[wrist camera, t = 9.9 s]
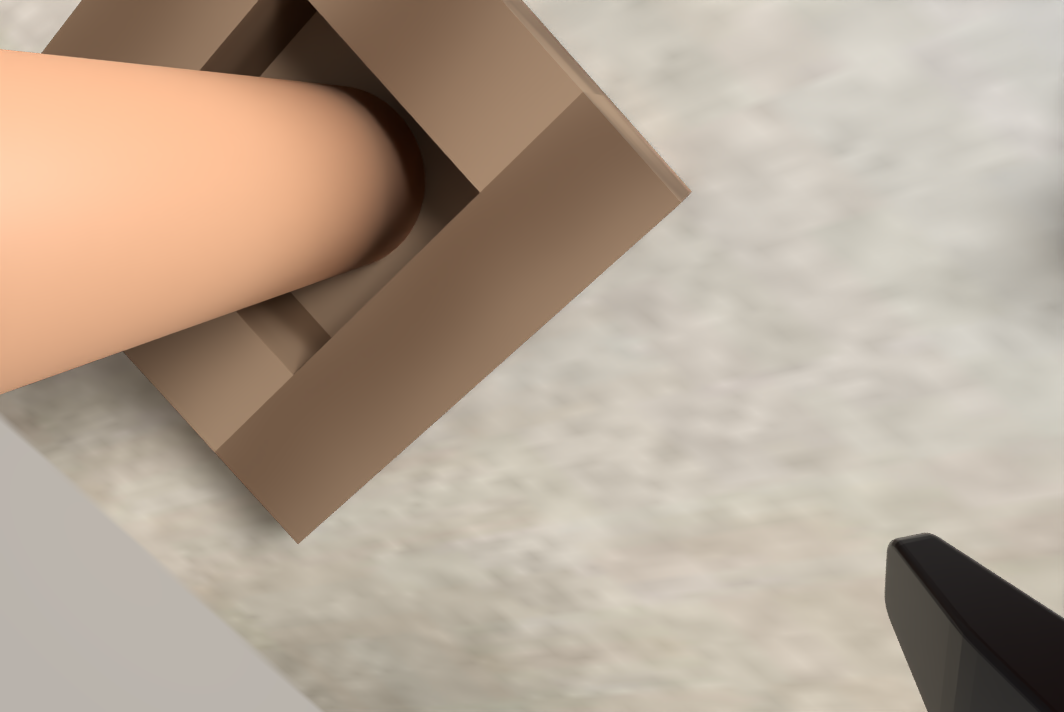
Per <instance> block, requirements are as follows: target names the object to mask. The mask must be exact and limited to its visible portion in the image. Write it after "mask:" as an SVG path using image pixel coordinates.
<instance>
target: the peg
mask: <svg viewBox="0 0 1064 712" xmlns="http://www.w3.org/2000/svg"><path fill="white" fill-rule="evenodd" d="M424 191H425V172H424V165H423V160H422V156H421V152H420V149H419V147H418V144H417V142H416V139H415V137H414V135H413V134H412V132H411V130H410V128H409V127H408V125H407V124H406V123H405V121H404V120H403V118H402V117H401V116H400V115H399V114H398V113H397V112H396V111H395V110H394V109H393V108H392V107H391V106H389V105H388V104H387V103H386V102H385V101H383V100H381V99H380V98H378V97H377V96H375V95H373V94H371V93H368V92H366V91H364V90H360V89H357V88H354V87H347V86H340V85H330V84H321V83H312V82H302V81H293V80H284V79H274V78H265V77H255V76H246V75H237V74H227V73H218V72H209V71H199V70H190V69H180V68H171V67H162V66H152V65H143V64H134V63H124V62H115V61H105V60H96V59H87V58H77V57H68V56H59V55H49V54H40V53H30V52H21V51H12V50H2V49H0V394H3V393H6V392H9V391H11V390H14V389H17V388H20V387H23V386H26V385H28V384H31V383H34V382H37V381H40V380H43V379H45V378H48V377H51V376H54V375H57V374H59V373H62V372H65V371H68V370H71V369H74V368H76V367H79V366H82V365H85V364H88V363H91V362H93V361H96V360H99V359H102V358H105V357H107V356H110V355H113V354H116V353H119V352H122V351H124V350H127V349H130V348H133V347H136V346H139V345H141V344H144V343H147V342H150V341H153V340H155V339H158V338H161V337H164V336H167V335H170V334H172V333H175V332H178V331H181V330H184V329H187V328H189V327H192V326H195V325H198V324H201V323H203V322H206V321H209V320H212V319H215V318H218V317H220V316H223V315H226V314H229V313H232V312H235V311H237V310H240V309H243V308H246V307H249V306H251V305H254V304H257V303H260V302H263V301H266V300H268V299H271V298H274V297H277V296H280V295H283V294H285V293H288V292H291V291H294V290H297V289H299V288H302V287H305V286H308V285H311V284H314V283H316V282H319V281H322V280H325V279H328V278H331V277H333V276H336V275H339V274H342V273H345V272H347V271H350V270H353V269H356V268H359V267H362V266H364V265H367V264H370V263H372V262H375V261H377V260H380V259H381V258H383V257H385V256H387V255H388V254H390V253H391V252H392V251H393V250H395V249H396V248H397V247H398V246H399V245H400V244H401V243H402V242H403V241H404V240H405V239H406V237H407V236H408V234H409V233H410V232H411V230H412V228H413V227H414V225H415V223H416V221H417V219H418V216H419V213H420V211H421V207H422V203H423V199H424Z"/></svg>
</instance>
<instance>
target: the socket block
mask: <svg viewBox="0 0 1064 712" xmlns="http://www.w3.org/2000/svg"><path fill="white" fill-rule="evenodd" d="M41 54H49V55H59V56H68V57H77V58H87V59H96V60H105V61H115V62H124V63H134V64H143V65H152V66H162V67H171V68H180V69H190V70H199V71H209V72H218V73H227V74H237V75H246V76H255V77H265V78H274V79H284V80H293V81H302V82H312V83H321V84H330V85H340V86H347V87H354V88H357V89H360V90H364V91H366V92H368V93H371V94H373V95H375V96H377V97H378V98H380V99H381V100H383V101H385V102H386V103H387V104H388V105H389V106H391V107H392V108H393V109H394V110H395V111H396V112H397V113H398V114H399V115H400V116H401V117H402V118H403V120H404V121H405V123H406V124H407V125H408V127H409V128H410V130H411V132H412V134H413V135H414V137H415V139H416V142H417V144H418V147H419V149H420V152H421V156H422V160H423V165H424V172H425V191H424V199H423V203H422V207H421V211H420V213H419V216H418V219H417V221H416V223H415V225H414V227H413V228H412V230H411V232H410V233H409V234H408V236H407V237H406V239H405V240H404V241H403V242H402V243H401V244H400V245H399V246H398V247H397V248H396V249H395V250H393V251H392V252H391V253H390V254H388V255H387V256H385V257H383V258H381V259H380V260H377V261H375V262H372V263H370V264H367V265H364V266H362V267H359V268H356V269H353V270H350V271H347V272H345V273H342V274H339V275H336V276H333V277H331V278H328V279H325V280H322V281H319V282H316V283H314V284H311V285H308V286H305V287H302V288H299V289H297V290H294V291H291V292H288V293H285V294H283V295H280V296H277V297H274V298H271V299H268V300H266V301H263V302H260V303H257V304H254V305H251V306H249V307H246V308H243V309H240V310H237V311H235V312H232V313H229V314H226V315H223V316H220V317H218V318H215V319H212V320H209V321H206V322H203V323H201V324H198V325H195V326H192V327H189V328H187V329H184V330H181V331H178V332H175V333H172V334H170V335H167V336H164V337H161V338H158V339H155V340H153V341H150V342H147V343H144V344H141V345H139V346H136V347H133V348H130V349H127V350H124V351H123V352H124V353H125V354H126V355H127V357H128V358H129V359H130V360H131V361H132V362H133V363H134V364H135V365H136V366H137V368H138V369H139V370H140V371H141V372H142V373H143V374H144V375H145V376H146V377H147V379H148V380H149V381H150V382H151V383H152V384H153V385H154V386H155V387H156V388H157V390H158V391H159V392H160V393H161V394H162V395H163V396H164V397H165V398H166V399H167V401H168V402H169V403H170V404H171V405H172V406H173V407H174V408H175V409H176V410H177V412H178V413H179V414H180V415H181V416H182V417H183V418H184V419H185V420H186V422H187V423H188V424H189V425H190V426H191V427H192V428H193V429H194V430H195V431H196V433H197V434H198V435H199V436H200V437H201V438H202V439H203V440H204V441H205V442H206V444H207V445H208V446H209V447H210V448H211V449H212V450H213V451H214V452H215V453H216V455H217V456H218V457H219V458H220V459H221V460H222V461H223V462H224V463H225V464H226V466H227V467H228V468H229V469H230V470H231V471H232V472H233V473H234V474H235V475H236V477H237V478H238V479H239V480H240V481H241V482H242V483H243V484H244V485H245V486H246V488H247V489H248V490H249V491H250V492H251V493H252V494H253V495H254V496H255V497H256V499H257V500H258V501H259V502H260V503H261V504H262V505H263V506H264V507H265V508H266V510H267V511H268V512H269V513H270V514H271V515H272V516H273V517H274V518H275V519H276V521H277V522H278V523H279V524H280V525H281V526H282V527H283V528H284V529H285V530H286V532H287V533H288V534H289V535H290V536H291V537H292V538H293V539H294V540H295V541H296V543H297V544H299V543H300V542H301V541H302V540H303V539H304V538H305V537H307V536H308V535H309V534H310V533H311V532H312V531H313V530H314V529H316V528H317V527H318V526H319V525H320V524H321V523H322V522H323V521H325V520H326V519H327V518H328V517H329V516H330V515H331V514H332V513H334V512H335V511H336V510H337V509H338V508H339V507H340V506H341V505H342V504H344V503H345V502H346V501H347V500H348V499H349V498H350V497H351V496H353V495H354V494H355V493H356V492H357V491H358V490H359V489H360V488H362V487H363V486H364V485H365V484H366V483H367V482H368V481H369V480H371V479H372V478H373V477H374V476H375V475H376V474H377V473H378V472H380V471H381V470H382V469H383V468H384V467H385V466H386V465H387V464H389V463H390V462H391V461H392V460H393V459H394V458H395V457H396V456H397V455H399V454H400V453H401V452H402V451H403V450H404V449H405V448H406V447H408V446H409V445H410V444H411V443H412V442H413V441H414V440H415V439H417V438H418V437H419V436H420V435H421V434H422V433H423V432H424V431H426V430H427V429H428V428H429V427H430V426H431V425H432V424H433V423H435V422H436V421H437V420H438V419H439V418H440V417H441V416H442V415H443V414H445V413H446V412H447V411H448V410H449V409H450V408H451V407H452V406H454V405H455V404H456V403H457V402H458V401H459V400H460V399H461V398H463V397H464V396H465V395H466V394H467V393H468V392H469V391H470V390H472V389H473V388H474V387H475V386H476V385H477V384H478V383H479V382H481V381H482V380H483V379H484V378H485V377H486V376H487V375H488V374H490V373H491V372H492V371H493V370H494V369H495V368H496V367H497V366H498V365H500V364H501V363H502V362H503V361H504V360H505V359H506V358H507V357H509V356H510V355H511V354H512V353H513V352H514V351H515V350H516V349H518V348H519V347H520V346H521V345H522V344H523V343H524V342H525V341H527V340H528V339H529V338H530V337H531V336H532V335H533V334H534V333H536V332H537V331H538V330H539V329H540V328H541V327H542V326H543V325H545V324H546V323H547V322H548V321H549V320H550V319H551V318H552V317H553V316H555V315H556V314H557V313H558V312H559V311H560V310H561V309H562V308H564V307H565V306H566V305H567V304H568V303H569V302H570V301H571V300H573V299H574V298H575V297H576V296H577V295H578V294H579V293H580V292H582V291H583V290H584V289H585V288H586V287H587V286H588V285H589V284H591V283H592V282H593V281H594V280H595V279H596V278H597V277H598V276H599V275H601V274H602V273H603V272H604V271H605V270H606V269H607V268H608V267H610V266H611V265H612V264H613V263H614V262H615V261H616V260H617V259H619V258H620V257H621V256H622V255H623V254H624V253H625V252H626V251H628V250H629V249H630V248H631V247H632V246H633V245H634V244H635V243H637V242H638V241H639V240H640V239H641V238H642V237H643V236H644V235H646V234H647V233H648V232H649V231H650V230H651V229H652V228H653V227H654V226H656V225H657V224H658V223H659V222H660V221H661V220H662V219H663V218H665V217H666V216H667V215H668V214H669V213H670V212H671V211H672V210H674V209H675V208H676V207H677V206H678V205H679V204H680V203H681V202H682V201H683V200H684V199H685V198H686V197H687V196H688V195H689V194H690V193H691V190H690V189H689V188H688V187H687V186H686V185H685V184H684V182H683V181H682V180H681V179H680V178H679V177H678V176H677V175H676V173H675V172H674V171H673V170H672V169H671V168H670V167H669V166H668V164H667V163H666V162H665V161H664V160H663V159H662V158H661V157H660V155H659V154H658V153H657V152H656V151H655V150H654V149H653V147H652V146H651V145H650V144H649V143H648V142H647V141H646V140H645V138H644V137H643V136H642V135H641V134H640V133H639V132H638V131H637V129H636V128H635V127H634V126H633V125H632V124H631V123H630V122H629V120H628V119H627V118H626V117H625V116H624V115H623V114H622V113H621V111H620V110H619V109H618V108H617V107H616V106H615V105H614V103H613V102H612V101H611V100H610V99H609V98H608V97H607V96H606V94H605V93H604V92H603V91H602V90H601V89H600V88H599V87H598V85H597V84H596V83H595V82H594V81H593V80H592V79H591V78H590V76H589V75H588V74H587V73H586V72H585V71H584V70H583V68H582V67H581V66H580V65H579V64H578V63H577V62H576V61H575V59H574V58H573V57H572V56H571V55H570V54H569V53H568V52H567V50H566V49H565V48H564V47H563V46H562V45H561V44H560V43H559V41H558V40H557V39H556V38H555V37H554V36H553V35H552V33H551V32H550V31H549V30H548V29H547V28H546V27H545V26H544V24H543V23H542V22H541V21H540V20H539V19H538V18H537V17H536V15H535V14H534V13H533V12H532V11H531V10H530V9H529V8H528V6H527V5H526V4H525V3H524V2H523V1H522V0H82V1H81V2H80V3H79V5H78V6H77V7H76V9H75V10H74V11H73V13H72V14H71V15H70V16H69V18H68V19H67V20H66V22H65V23H64V24H63V26H62V27H61V28H60V30H59V31H58V32H57V33H56V35H55V36H54V37H53V39H52V40H51V41H50V43H49V44H48V45H47V47H46V48H45V49H44V50H43V52H42V53H41Z"/></svg>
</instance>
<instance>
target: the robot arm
mask: <svg viewBox="0 0 1064 712" xmlns="http://www.w3.org/2000/svg"><path fill="white" fill-rule="evenodd" d="M885 604H886V609H887V612H888V616H889V619H890V621H891V624H892V626H893V629H894V631H895V634H896V636H897V638H898V641H899V643H900V646H901V648H902V651H903V653H904V655H905V658H906V660H907V663H908V665H909V668H910V670H911V672H912V675H913V677H914V680H915V682H916V685H917V687H918V689H919V692H920V694H921V697H922V699H923V702H924V704H925V706H926V709H927V711H928V712H1064V618H1063V617H1061V616H1060V615H1058V614H1056V613H1055V612H1053V611H1052V610H1050V609H1049V608H1047V607H1046V606H1044V605H1043V604H1041V603H1040V602H1038V601H1036V600H1035V599H1033V598H1032V597H1030V596H1029V595H1027V594H1026V593H1024V592H1023V591H1021V590H1019V589H1018V588H1016V587H1015V586H1013V585H1012V584H1010V583H1009V582H1007V581H1006V580H1004V579H1002V578H1001V577H999V576H998V575H996V574H995V573H993V572H992V571H990V570H989V569H987V568H985V567H984V566H982V565H981V564H979V563H978V562H976V561H975V560H973V559H972V558H970V557H969V556H967V555H965V554H964V553H962V552H961V551H959V550H958V549H956V548H955V547H953V546H952V545H950V544H948V543H947V542H945V541H944V540H942V539H941V538H939V537H937V536H936V535H933V534H930V533H921V534H916V535H911V536H906V537H902V538H897V539H894V540H892V541H891V542H890V543H889V545H888V549H887V559H886V578H885Z"/></svg>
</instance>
